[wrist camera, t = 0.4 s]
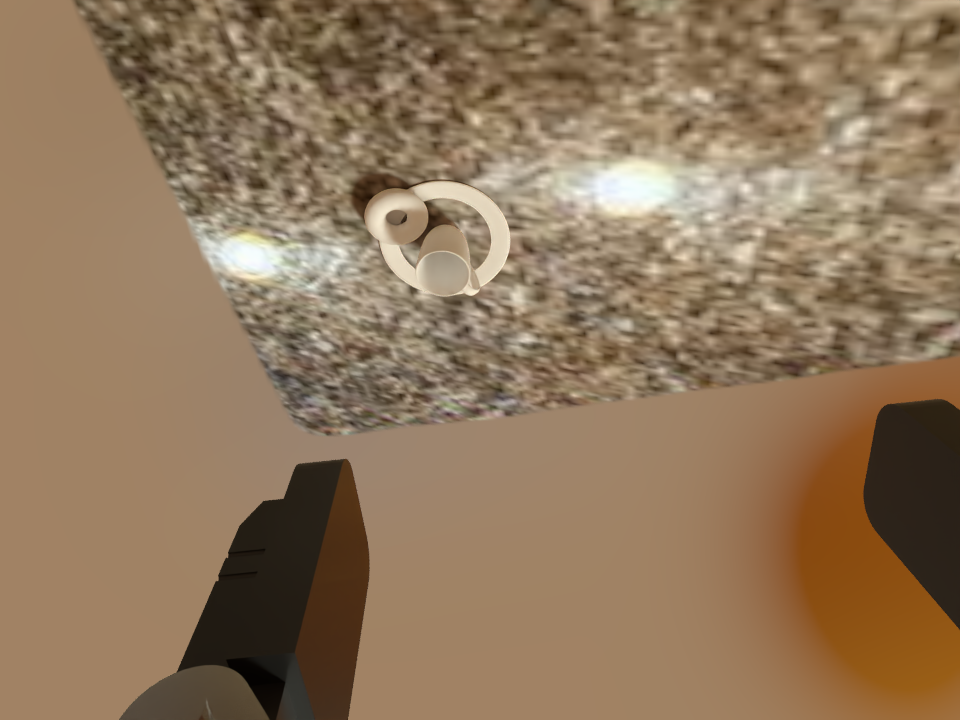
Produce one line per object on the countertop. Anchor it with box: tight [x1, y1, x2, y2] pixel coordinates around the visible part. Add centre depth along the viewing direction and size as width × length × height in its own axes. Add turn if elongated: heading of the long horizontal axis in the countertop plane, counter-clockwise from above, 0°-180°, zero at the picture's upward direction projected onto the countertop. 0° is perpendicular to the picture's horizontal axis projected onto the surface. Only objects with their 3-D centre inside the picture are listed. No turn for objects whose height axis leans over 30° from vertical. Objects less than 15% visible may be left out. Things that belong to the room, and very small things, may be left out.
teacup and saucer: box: [364, 181, 510, 296], centre depth 40 cm, size 9×8×4 cm
